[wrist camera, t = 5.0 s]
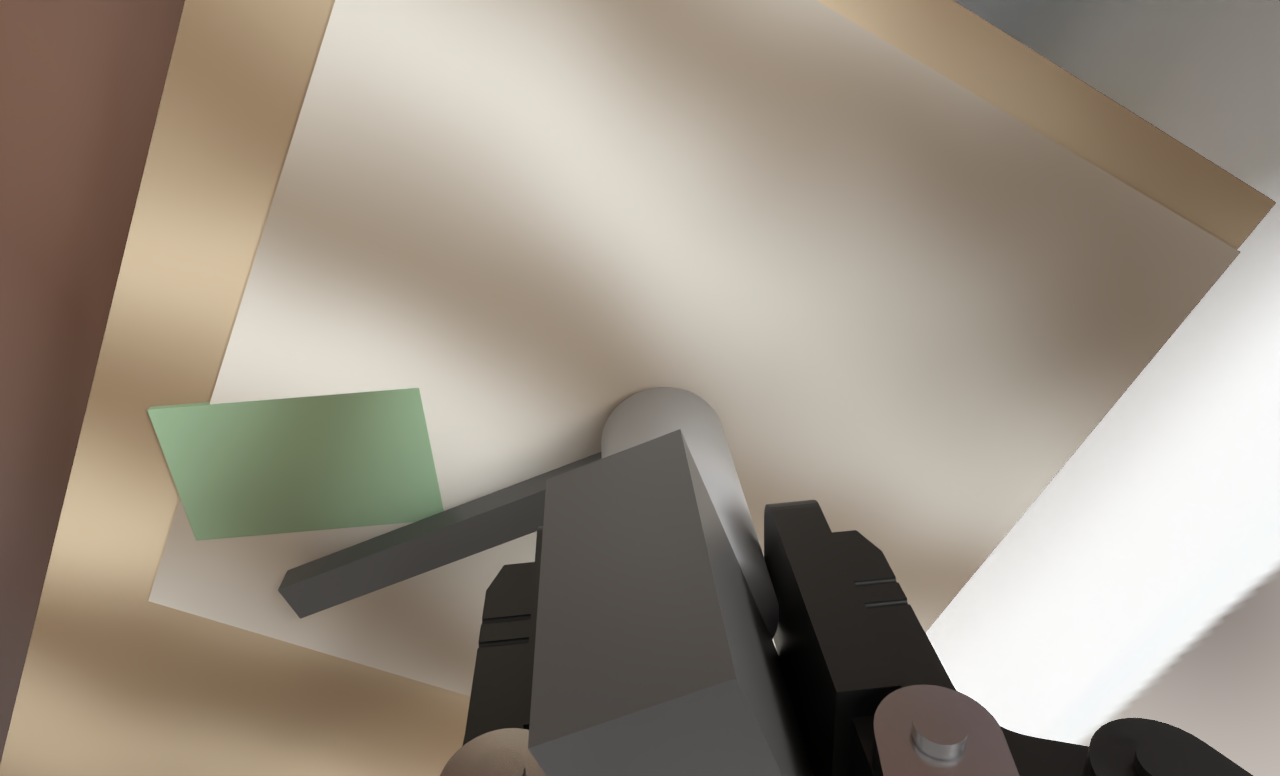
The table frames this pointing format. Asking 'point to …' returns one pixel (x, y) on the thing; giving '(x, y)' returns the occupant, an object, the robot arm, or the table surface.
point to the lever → (623, 600)
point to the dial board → (569, 328)
